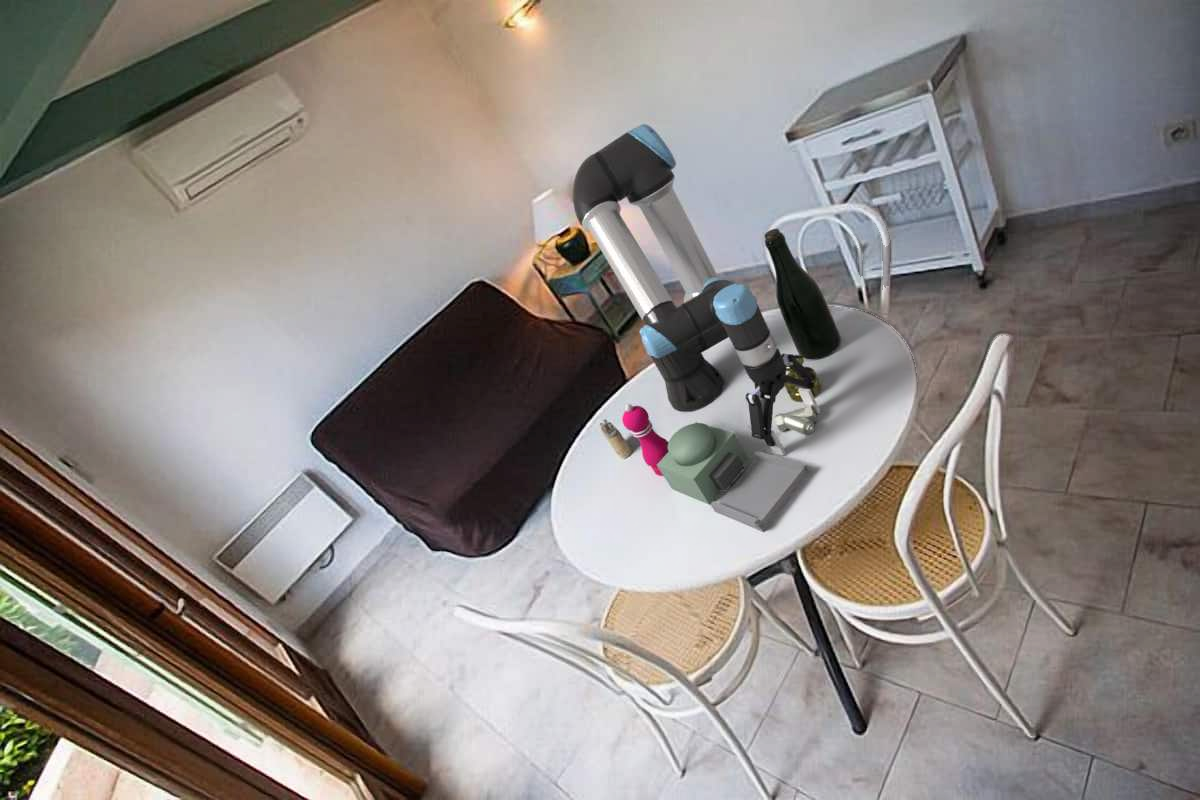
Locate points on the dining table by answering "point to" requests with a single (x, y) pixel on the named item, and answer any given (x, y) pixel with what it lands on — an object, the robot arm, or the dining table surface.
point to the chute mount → (762, 490)
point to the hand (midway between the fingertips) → (797, 432)
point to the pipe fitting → (797, 420)
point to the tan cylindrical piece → (615, 439)
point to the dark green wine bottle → (801, 302)
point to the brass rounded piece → (792, 388)
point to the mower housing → (702, 461)
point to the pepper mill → (645, 436)
